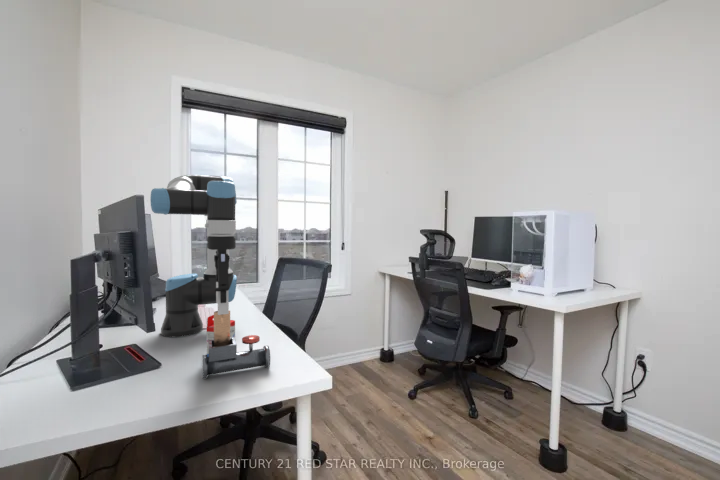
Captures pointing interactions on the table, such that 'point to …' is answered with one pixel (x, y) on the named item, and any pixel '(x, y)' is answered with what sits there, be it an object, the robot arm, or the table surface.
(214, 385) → the table surface
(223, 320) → the pipe stub
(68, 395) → the table surface
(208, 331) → the ink box
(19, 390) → the table surface
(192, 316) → the robot arm
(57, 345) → the table surface
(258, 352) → the valve body
